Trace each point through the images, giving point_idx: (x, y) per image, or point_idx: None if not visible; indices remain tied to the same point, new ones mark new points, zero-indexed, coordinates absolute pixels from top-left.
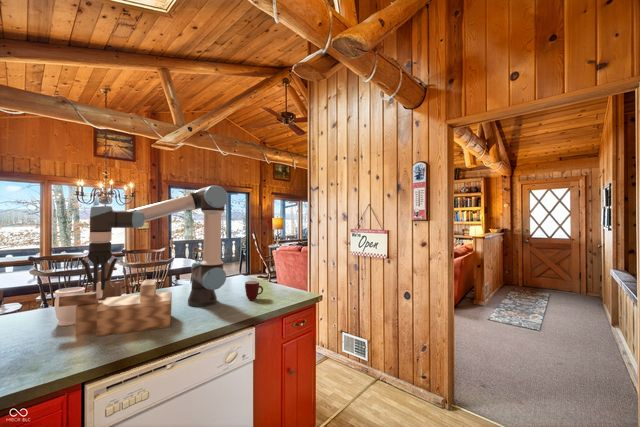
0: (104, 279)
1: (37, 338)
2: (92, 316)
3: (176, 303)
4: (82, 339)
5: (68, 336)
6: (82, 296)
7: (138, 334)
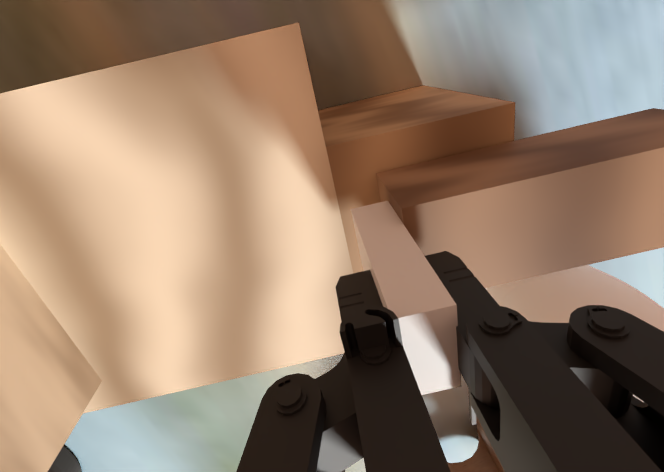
0: (351, 387)
1: (590, 81)
2: (364, 116)
3: (141, 462)
4: (357, 4)
5: (453, 79)
6: (524, 170)
7: (38, 20)
